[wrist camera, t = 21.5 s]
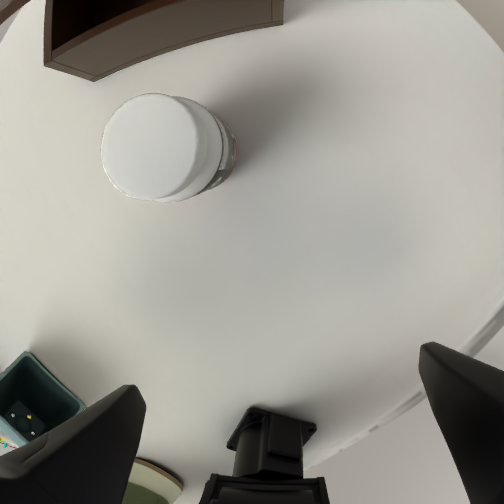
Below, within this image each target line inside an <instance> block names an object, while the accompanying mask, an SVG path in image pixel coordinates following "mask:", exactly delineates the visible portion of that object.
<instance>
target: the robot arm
mask: <svg viewBox="0 0 504 504" xmlns="http://www.w3.org/2000/svg"><path fill="white" fill-rule="evenodd" d="M419 373H420V376H421V379H422V382H423V385H424V388H425V391H426V394H427V396H428V400H429V402H430V406H431V408H432V411H433V414H434V416H435V418H436V420H437V423H438V425H439V427H440V429H441V431H442V434H443V436H444V438H445V440H446V442H447V445H448V447H449V450H450V452H451V454H452V457H453V459H454V462H455V464H456V466H457V469H458V471H459V474H460V477H461V479H462V482H463V484H464V487H465V490H466V492H467V495H468V498H469V500H470V504H504V371H502V370H499V369H497V368H495V367H492V366H490V365H488V364H485V363H483V362H481V361H478V360H476V359H473V358H471V357H469V356H467V355H464V354H462V353H460V352H457V351H455V350H452V349H450V348H448V347H445V346H443V345H441V344H438V343H436V342H429V343H425V344H423V345H422V346H421V347H420V356H419ZM145 413H146V403H145V401H144V399H143V397H142V395H141V393H140V391H139V390H138V388H137V387H136V386H135V385H123V386H121V387H120V388H118V389H117V390H115V391H114V392H112V393H110V394H109V395H107V396H106V397H104V398H103V399H101V400H99V401H98V402H96V403H95V404H93V405H91V406H90V407H88V408H87V409H85V410H83V411H82V412H80V413H78V414H77V415H75V416H74V417H72V418H70V419H69V420H67V421H65V422H64V423H62V424H60V425H59V426H57V427H55V428H54V429H52V430H50V431H49V432H47V433H45V434H43V435H42V436H40V437H38V438H36V439H35V440H33V441H31V442H29V443H27V444H25V445H23V446H21V447H19V448H17V449H15V450H13V451H11V452H8V453H6V454H4V455H2V456H0V504H122V501H123V497H124V494H125V490H126V487H127V484H128V480H129V477H130V473H131V470H132V467H133V463H134V460H135V457H136V454H137V450H138V447H139V443H140V438H141V433H142V428H143V423H144V418H145ZM316 430H317V427H316V424H314V423H310V422H306V421H301V420H297V419H293V418H289V417H285V416H281V415H278V414H274V413H270V412H267V411H263V410H260V409H256V408H249V409H247V411H246V412H245V414H244V416H243V418H242V419H241V421H240V423H239V424H238V426H237V428H236V429H235V431H234V433H233V434H232V436H231V438H230V439H229V441H228V442H227V448H228V449H230V450H233V451H236V456H235V463H234V469H233V475H232V476H225V475H219V474H215V473H212V474H211V477H210V479H209V480H207V482H206V483H205V488H204V491H203V494H202V497H201V500H200V502H199V504H330V502H329V498H328V493H327V488H326V484H325V479H324V477H317V478H306V479H303V446H304V444H305V443H306V442H307V441H308V440H309V439H310V438H311V436H312V435H313V434H314V433H315V432H316Z"/></svg>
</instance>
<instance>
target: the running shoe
mask: <svg viewBox="0 0 504 504" xmlns="http://www.w3.org/2000/svg"><path fill="white" fill-rule="evenodd" d="M182 491H183V486H182V484H181V483H180V482H179V481H178V480H177V479H175V478H174V477H172V476H171V475H170V474H168V473H166V472H165V471H163V470H162V469H160V468H158V467H156V466H154V465H152V464H150V463H148V462H145V461H143V460H140V459H136V458H135V460H134V463H133V467H132V470H131V473H130V477H129V480H128V484H127V487H126V490H125V494H124V497H123V501H122V504H173V503H174V501H175V500H176V499H177V498H178V496H179V495H180V494H181V492H182Z"/></svg>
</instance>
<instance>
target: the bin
mask: <svg viewBox="0 0 504 504" xmlns="http://www.w3.org/2000/svg"><path fill="white" fill-rule="evenodd" d="M283 14H284V0H46V5H45V19H44V66H45V67H48V68H52V69H55V70H58V71H62V72H65V73H68V74H71V75H74V76H78V77H81V78H84V79H87V80H90V81H92V82H95V81H97V80H99V79H101V78H103V77H105V76H107V75H110V74H112V73H114V72H116V71H119V70H121V69H123V68H126V67H128V66H131V65H133V64H136V63H138V62H141V61H143V60H146V59H149V58H151V57H154V56H157V55H160V54H163V53H166V52H169V51H172V50H175V49H178V48H181V47H184V46H188V45H191V44H194V43H198V42H202V41H205V40H209V39H213V38H217V37H221V36H225V35H229V34H234V33H239V32H243V31H248V30H254V29H259V28H265V27H271V26H277V25H283Z"/></svg>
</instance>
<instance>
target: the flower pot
mask: <svg viewBox="0 0 504 504" xmlns="http://www.w3.org/2000/svg"><path fill="white" fill-rule="evenodd" d="M84 406H85V405H84V403H83V402H82V401H81V400H80V399H78V398H77V397H76V396H75V395H73V394H72V393H71V392H70V391H69V390H68V389H66V388H65V387H64V386H63V385H62V384H61V383H60V382H59V381H57V379H55V378H54V377H53V376H52V375H51V374H50V373H49V372H48V371H47V370H46V369H45V368H44V367H43V366H42V365H41V364H40V363H39V362H38V361H37V360H36V359H35V358H34V357H33V356H32V354H30V353H29V352H27V351H24V352H23V353H22V354H21V355H20V356H19V357H18V358H17V359H16V360H15V361H14V362H13V363H12V364H11V365H10V366H9V367H8V368H7V369H6V370H5V371H4V372H3V373H2V374H1V375H0V430H1V431H2V432H3V433H4V434H5V435H6V436H8V437H9V438H10V439H11V440H12V441H13V442H14V443H15V444H16V445H17V446H19V447H21V446H23V445H25V444H27V443H29V442H31V441H33V440H35V439H36V438H38V437H40V436H42V435H43V434H45V433H47V432H49V431H50V430H52V429H54V428H55V427H57V426H59V425H60V424H62V423H64V422H65V421H67V420H69V419H70V418H72V417H74V416H75V415H77V414H78V413H80V412H82V411H83V410H84ZM11 414H14V415H15V417H12V416H11ZM27 415H30V416H31V418H28V417H27ZM31 432H34V433H35V435H34V436H33V435H32V434H31Z"/></svg>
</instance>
